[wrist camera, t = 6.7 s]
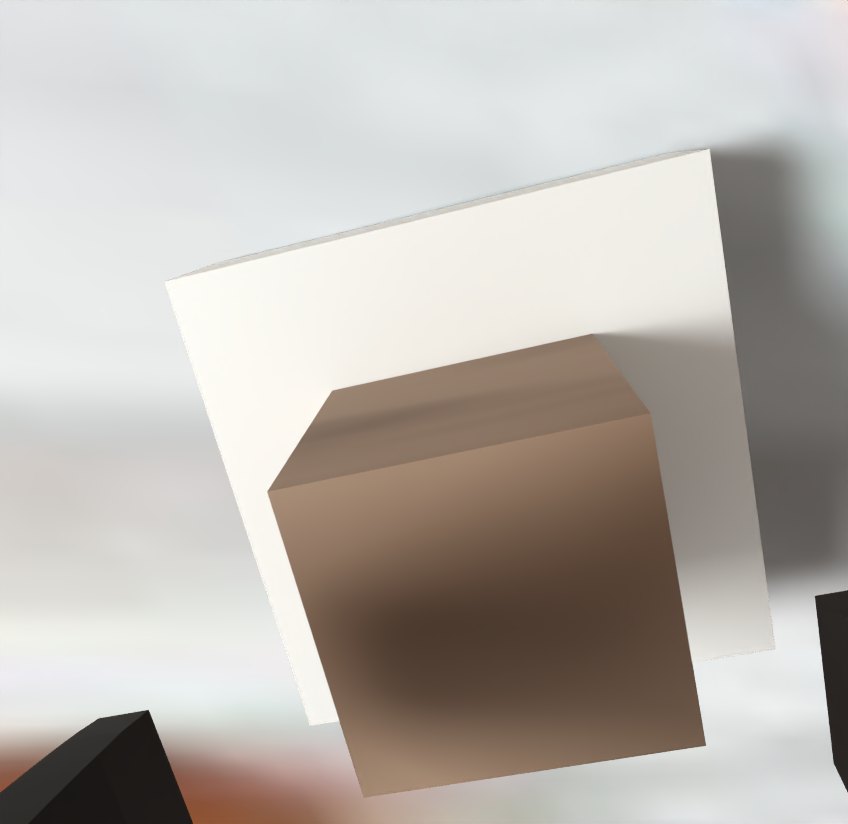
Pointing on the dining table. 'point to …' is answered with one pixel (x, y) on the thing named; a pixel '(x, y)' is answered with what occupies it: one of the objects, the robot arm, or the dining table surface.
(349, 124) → the dining table surface
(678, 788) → the dining table surface
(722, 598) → the base block
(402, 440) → the walnut cube
